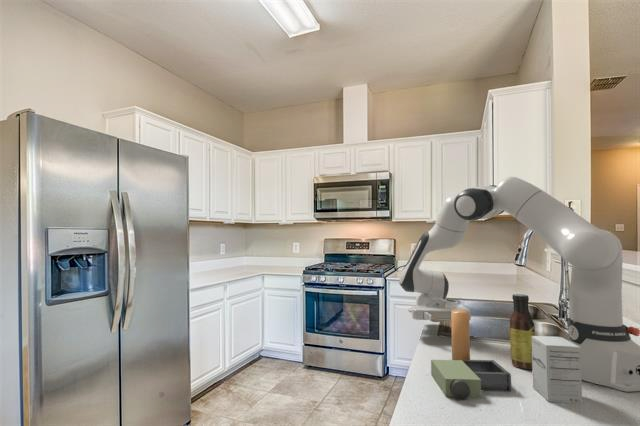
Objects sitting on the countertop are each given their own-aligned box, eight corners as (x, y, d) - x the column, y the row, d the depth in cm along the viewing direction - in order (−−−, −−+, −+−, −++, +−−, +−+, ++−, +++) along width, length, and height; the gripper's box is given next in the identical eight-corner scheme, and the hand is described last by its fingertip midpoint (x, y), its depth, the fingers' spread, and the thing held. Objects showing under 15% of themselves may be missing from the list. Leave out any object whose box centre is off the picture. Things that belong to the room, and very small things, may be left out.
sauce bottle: (540, 371, 94) (538, 297, 95) (515, 369, 95) (513, 296, 96) (530, 362, 100) (528, 293, 102) (507, 360, 102) (505, 292, 103)
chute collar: (494, 375, 91) (493, 360, 91) (511, 391, 82) (510, 374, 82) (461, 374, 91) (461, 359, 92) (474, 390, 82) (474, 373, 83)
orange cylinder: (466, 356, 105) (465, 309, 106) (472, 362, 100) (471, 313, 101) (449, 356, 105) (448, 309, 106) (455, 362, 100) (454, 313, 101)
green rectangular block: (461, 375, 91) (461, 360, 91) (483, 400, 77) (483, 382, 78) (431, 374, 91) (431, 359, 91) (447, 399, 78) (447, 381, 78)
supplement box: (531, 387, 84) (530, 335, 85) (564, 389, 83) (563, 336, 84) (547, 402, 77) (545, 344, 78) (583, 404, 76) (581, 346, 77)
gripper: (406, 300, 130) (415, 308, 116) (462, 301, 129) (477, 309, 115) (407, 317, 129) (415, 327, 116) (462, 318, 128) (477, 329, 115)
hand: (446, 318), depth 115 cm, fingers open, 8 cm apart
